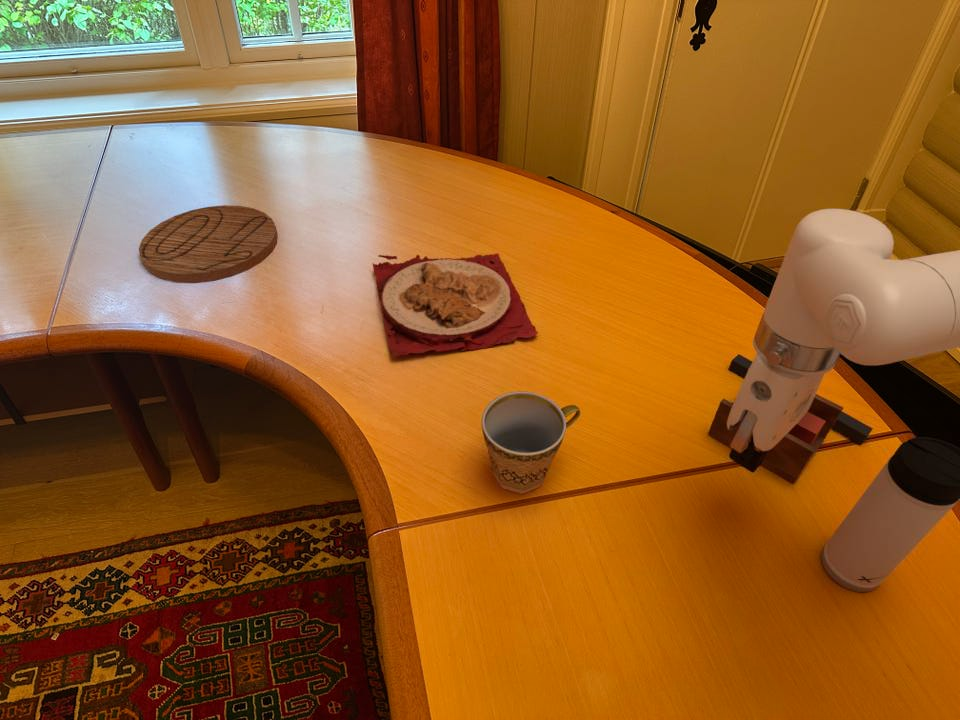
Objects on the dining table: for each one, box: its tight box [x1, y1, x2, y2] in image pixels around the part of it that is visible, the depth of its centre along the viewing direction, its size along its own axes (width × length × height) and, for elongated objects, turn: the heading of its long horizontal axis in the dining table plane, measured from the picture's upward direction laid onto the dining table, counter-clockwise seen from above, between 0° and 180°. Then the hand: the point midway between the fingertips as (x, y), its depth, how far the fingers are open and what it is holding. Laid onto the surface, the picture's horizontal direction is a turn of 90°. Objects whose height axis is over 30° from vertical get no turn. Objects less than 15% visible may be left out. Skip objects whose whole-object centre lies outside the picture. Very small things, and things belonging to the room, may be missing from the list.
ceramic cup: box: [481, 390, 581, 495], centre depth 75 cm, size 13×10×10 cm
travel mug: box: [820, 436, 960, 593], centre depth 62 cm, size 6×7×20 cm
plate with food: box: [372, 252, 539, 357], centre depth 103 cm, size 24×26×3 cm
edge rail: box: [728, 353, 874, 446], centre depth 87 cm, size 20×2×2 cm, turn 42°
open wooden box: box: [707, 393, 844, 485], centre depth 80 cm, size 12×10×7 cm
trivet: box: [138, 204, 279, 284], centre depth 117 cm, size 25×25×2 cm
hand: (744, 461), depth 70 cm, fingers closed
